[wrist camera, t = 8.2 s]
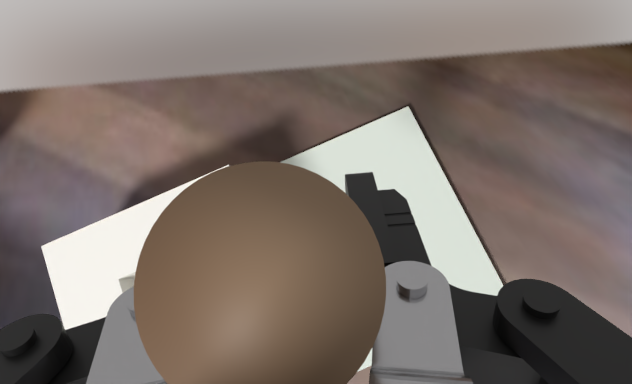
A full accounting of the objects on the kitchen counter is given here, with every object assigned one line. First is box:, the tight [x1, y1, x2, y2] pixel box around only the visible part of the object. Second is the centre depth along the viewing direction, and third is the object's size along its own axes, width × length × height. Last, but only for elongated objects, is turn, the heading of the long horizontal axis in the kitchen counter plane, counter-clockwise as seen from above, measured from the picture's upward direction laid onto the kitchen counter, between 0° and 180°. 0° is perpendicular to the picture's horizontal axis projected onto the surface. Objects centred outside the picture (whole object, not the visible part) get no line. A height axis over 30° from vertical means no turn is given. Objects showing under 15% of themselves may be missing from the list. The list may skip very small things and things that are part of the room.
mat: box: [280, 107, 503, 372], centre depth 29 cm, size 26×15×1 cm, turn 114°
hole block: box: [41, 165, 229, 330], centre depth 26 cm, size 12×12×5 cm
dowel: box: [134, 161, 386, 384], centre depth 10 cm, size 3×3×10 cm
